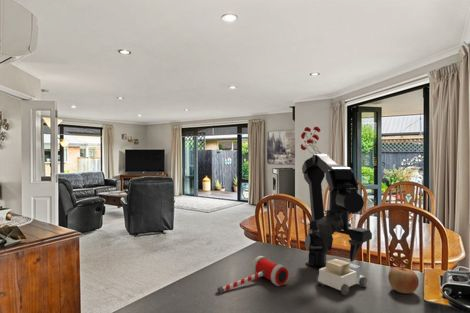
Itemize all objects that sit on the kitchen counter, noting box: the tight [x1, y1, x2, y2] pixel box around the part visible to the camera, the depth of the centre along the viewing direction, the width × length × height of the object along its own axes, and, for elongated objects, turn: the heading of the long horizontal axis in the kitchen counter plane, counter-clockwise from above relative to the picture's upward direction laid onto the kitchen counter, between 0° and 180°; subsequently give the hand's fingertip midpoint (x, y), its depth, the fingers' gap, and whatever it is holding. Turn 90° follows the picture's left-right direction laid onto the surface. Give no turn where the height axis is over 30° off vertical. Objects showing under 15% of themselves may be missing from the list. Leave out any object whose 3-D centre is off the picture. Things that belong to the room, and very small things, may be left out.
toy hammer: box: [216, 255, 290, 295], centre depth 95 cm, size 23×12×6 cm, turn 124°
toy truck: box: [315, 262, 368, 296], centre depth 96 cm, size 13×10×6 cm
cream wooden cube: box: [326, 258, 350, 276], centre depth 94 cm, size 5×5×5 cm
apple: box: [387, 264, 420, 294], centre depth 92 cm, size 8×8×8 cm
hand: (338, 257), depth 94 cm, fingers open, 9 cm apart
